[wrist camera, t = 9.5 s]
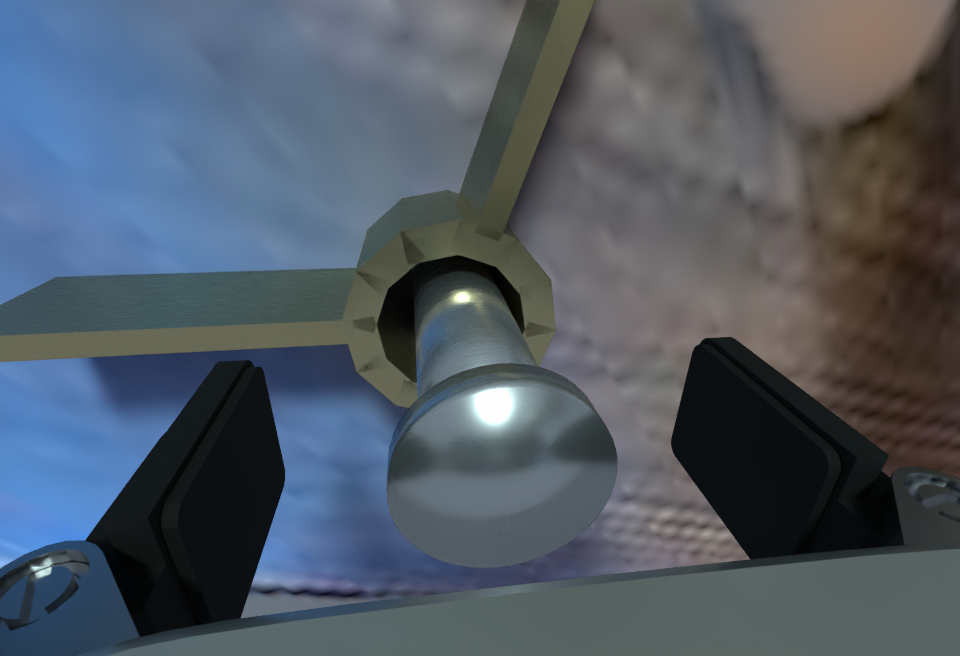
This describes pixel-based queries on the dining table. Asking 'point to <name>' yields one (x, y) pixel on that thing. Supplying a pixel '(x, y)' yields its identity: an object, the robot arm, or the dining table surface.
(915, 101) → the dining table surface
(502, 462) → the hinge pin
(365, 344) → the brass hinge
